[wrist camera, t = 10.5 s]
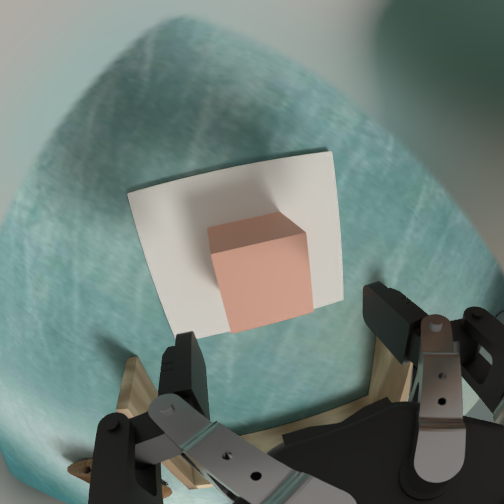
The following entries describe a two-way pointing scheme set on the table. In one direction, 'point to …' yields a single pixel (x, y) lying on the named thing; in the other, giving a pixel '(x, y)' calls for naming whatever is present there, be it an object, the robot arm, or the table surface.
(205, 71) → the table surface
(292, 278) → the terracotta block
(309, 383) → the table surface
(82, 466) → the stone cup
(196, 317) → the grey mat
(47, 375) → the table surface
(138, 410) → the wooden u-shaped wall
